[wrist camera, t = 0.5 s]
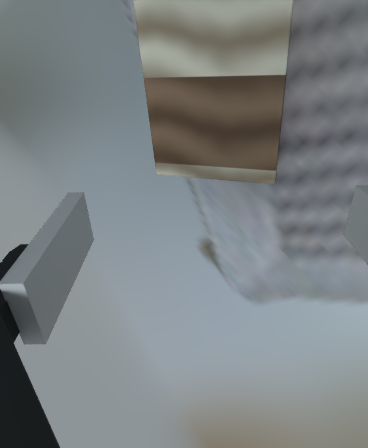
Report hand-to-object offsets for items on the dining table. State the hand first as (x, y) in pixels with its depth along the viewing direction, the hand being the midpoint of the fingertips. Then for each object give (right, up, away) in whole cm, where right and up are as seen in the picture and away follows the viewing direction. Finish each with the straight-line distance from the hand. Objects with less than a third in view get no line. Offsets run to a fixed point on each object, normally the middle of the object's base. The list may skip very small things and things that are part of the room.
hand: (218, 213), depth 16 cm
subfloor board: (+2, +16, +25) cm, 30 cm away
